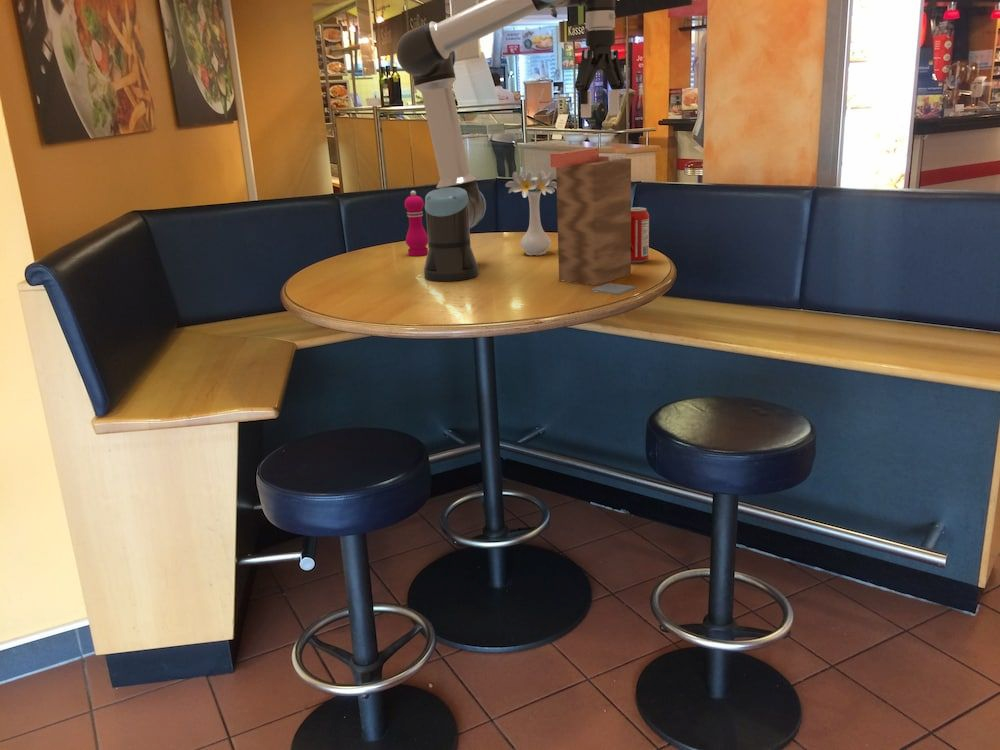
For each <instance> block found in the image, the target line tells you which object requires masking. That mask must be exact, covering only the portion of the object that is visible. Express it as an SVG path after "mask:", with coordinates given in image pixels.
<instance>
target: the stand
mask: <svg viewBox="0 0 1000 750" xmlns="http://www.w3.org/2000/svg"><path fill="white" fill-rule="evenodd" d="M555 170H556V172H555V173H556V176H555V177H556V182H557V190H556V210H557V211H556V212H557V213H556V214H557V216H556V217H557V249H558V281H559V280H564V281H563V282H566V281H570V282H569V283H574V282H577V283H576V284H581V283H584V284H583V285H589V284H591V286H601V285H604V284H607V283H609V282H610V281H614V280H617V279H620V278H622V277H624V276H628V275H631V274H632V268H631V267H632V263H631V208H632V158H627V157H626V159H620V160H614V161H597V162H591V163H585V164H580V165H574V166H568V167H562V168H560V167H555Z"/></svg>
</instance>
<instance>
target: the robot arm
mask: <svg viewBox="0 0 1000 750" xmlns="http://www.w3.org/2000/svg"><path fill="white" fill-rule="evenodd" d="M583 6H585V30H587V31H586V33H585V47H588V48H589V49H583V50H582V51H581V60H580V64H579V67H578V72H577V76H576V79H575V82H574V83H575V84H574V88H575V90H576V92H579V93H580V94H579V95H580V118H582V119H583V118H585V119H587V118H589V119H590V118H592V91H591V90H590V89H591V86H592V83H593V81H594V78H595V77H596V75H597V73H598V70H599V69H600V70H602V71H603V73H604V75H605V78H606V81H607V82H608V85H609V87H610V89H608V116H619V114H620V90H623V89H624V86H625V81H624V77H623V76H624V75H623V72H622V68H621V65H620V61H619V60H620V59H619V51H618V49H612V48H611V47H612V46H615V44H616V31H615V29H614V28H616V13H615V11H616V0H482V1H481V2H478V3H476V4H475V5H472V6H470V7H468V8H467V9H463V10H462V11H460V12H458V13H455V14H454V15H452V16H450V17H448V18H446V19H443V20H441V21H439V22H436V21H432V20H431V21H430V22H427V23H425V24H423V25H420V26H418V27H416V28H413V29H410V30H408V31H407V32H405V33H404V34H403V35H402V36H401V37H400V39H399V40H398V43H397V45H396V60H397V62H398V64H399V66H400V67H401V69H402V70H403V71H404V72H406V73H407V74H408V75H411V77H412V81H413V86H414V89H416V90H417V91H419V92H420V93H421V97H422V101H423V105H424V106H423V107H424V110H425V114H426V115H425V116H426V120H427V124H428V128H429V134H430V137H431V142H432V148H433V151H434V156H435V160H436V161H435V162H436V166H437V170H438V175H439V182H438V184H437V185H436V189H433V190H431V191H429V192H428V193H426V195H425V197H424V210H425V220H426V221H425V222H426V233H427V236H428V244H427V245H428V247H427V248H428V254H426V259H425V263H424V267H423V268H424V269H423V276H424V278H425V280H429V281H437V282H453V281H454V282H457V281H462V280H463V281H464V280H469V279H473V278H475V277H477V276H479V265H478V262H477V259H476V257H475V255H474V251H473V250H472V246H471V232H470V231H471V230H470V229H473V228H474V227H476V226H477V225H479V223H480V222H481V220H483V218H484V217H485V213H486V211H487V210H486V209H487V202H486V199H485V196H484V194H483V193H482V192H481V191H480V190H479V186H478V182H477V178H476V177H475V176H473V175H472V174H471V172H470V167H469V162H468V158H467V154H466V153H467V152H466V148H465V143H464V139H463V134H462V129H461V123H460V119H459V116H458V115H459V114H458V110H457V109H458V108H457V106H456V104H457V103H456V99H455V94H454V91H453V90H454V89H453V85H454V83H455V82H456V79H457V77H456V73H455V68H454V66H455V63H456V51H457V50H458V49H461V48H462V47H464V46H468V45H469V44H471V43H473V42H475V41H478V40H480V39H482V38H484V37H486V36H488V35H490V34H492V33H495V32H497V31H498V30H501V29H502V28H506V27H507V26H509V25H512V24H513V23H515V22H518V21H519V20H521V19H524V18H525V17H529V16H530V15H532V14H534V13H537V12H539V11H542V10H544V9H549V8H550V9H556V8H557V9H558V8H568V7H583Z"/></svg>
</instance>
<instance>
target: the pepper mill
mask: <svg viewBox="0 0 1000 750" xmlns="http://www.w3.org/2000/svg"><path fill="white" fill-rule="evenodd" d="M424 207H425V201H424V199H423V198H422V197H421V196H418V195H417V192H416V190H411V191H410V195H409V196H407V197H406V198H405V200H404V208H405V209H406V211H407V212H406V217H408V224H409V225H408V230H407V233H406V236H405V244H406V245H407V247H409V248H408V249H407V253H408V256H411V257H421V256H427V254H428V250H429V248H428V247H427V245H428V235H427V230H426V229H425V228H424V226H423V225H424V224H423V220H422V219H423V215H424V214H423V208H424Z"/></svg>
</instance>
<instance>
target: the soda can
mask: <svg viewBox="0 0 1000 750" xmlns="http://www.w3.org/2000/svg"><path fill="white" fill-rule="evenodd" d="M649 233H650V214H649V212H648V210H647V208H646V207H639V206H638V207H631V264H633V263H635V264H642V263H645V262H646V261H648V259H649V256H650V255H649V249H650V246H649V245H650V244H649V243H650V241H649V240H650V235H649Z"/></svg>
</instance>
